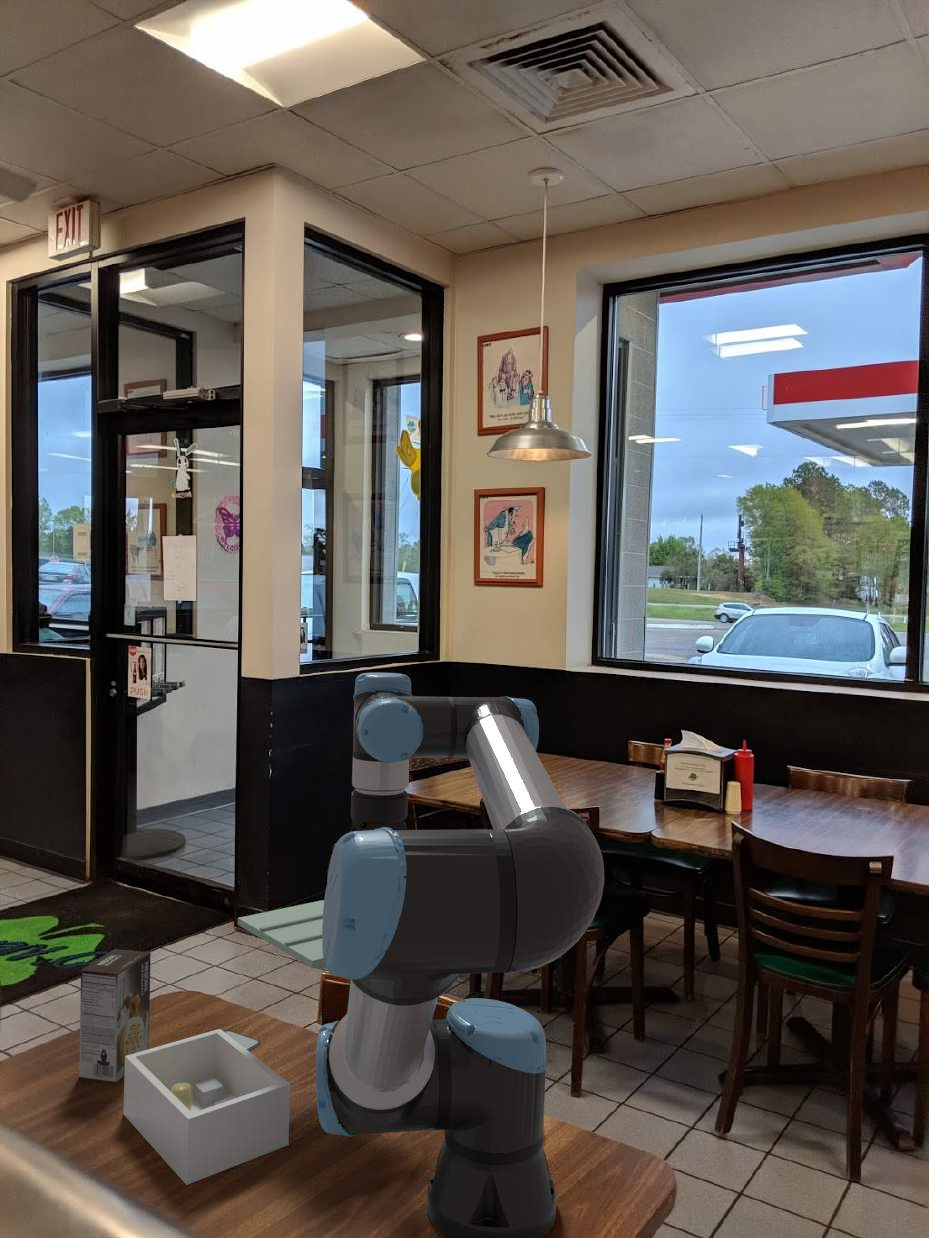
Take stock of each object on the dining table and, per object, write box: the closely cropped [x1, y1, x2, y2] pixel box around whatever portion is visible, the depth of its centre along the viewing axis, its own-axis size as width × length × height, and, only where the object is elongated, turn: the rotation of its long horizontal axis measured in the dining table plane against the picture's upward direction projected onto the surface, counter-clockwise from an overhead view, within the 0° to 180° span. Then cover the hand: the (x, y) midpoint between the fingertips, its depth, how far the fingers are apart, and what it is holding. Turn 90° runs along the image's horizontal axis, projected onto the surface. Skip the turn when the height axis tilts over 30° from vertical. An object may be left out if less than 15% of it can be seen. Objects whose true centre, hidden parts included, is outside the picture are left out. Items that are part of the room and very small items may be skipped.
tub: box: [123, 1028, 291, 1186], centre depth 127 cm, size 20×14×8 cm
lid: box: [237, 899, 326, 970], centre depth 136 cm, size 27×15×10 cm, turn 41°
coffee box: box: [78, 948, 152, 1083], centre depth 143 cm, size 9×6×16 cm
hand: (374, 964), depth 127 cm, fingers closed on lid, 2 cm apart
